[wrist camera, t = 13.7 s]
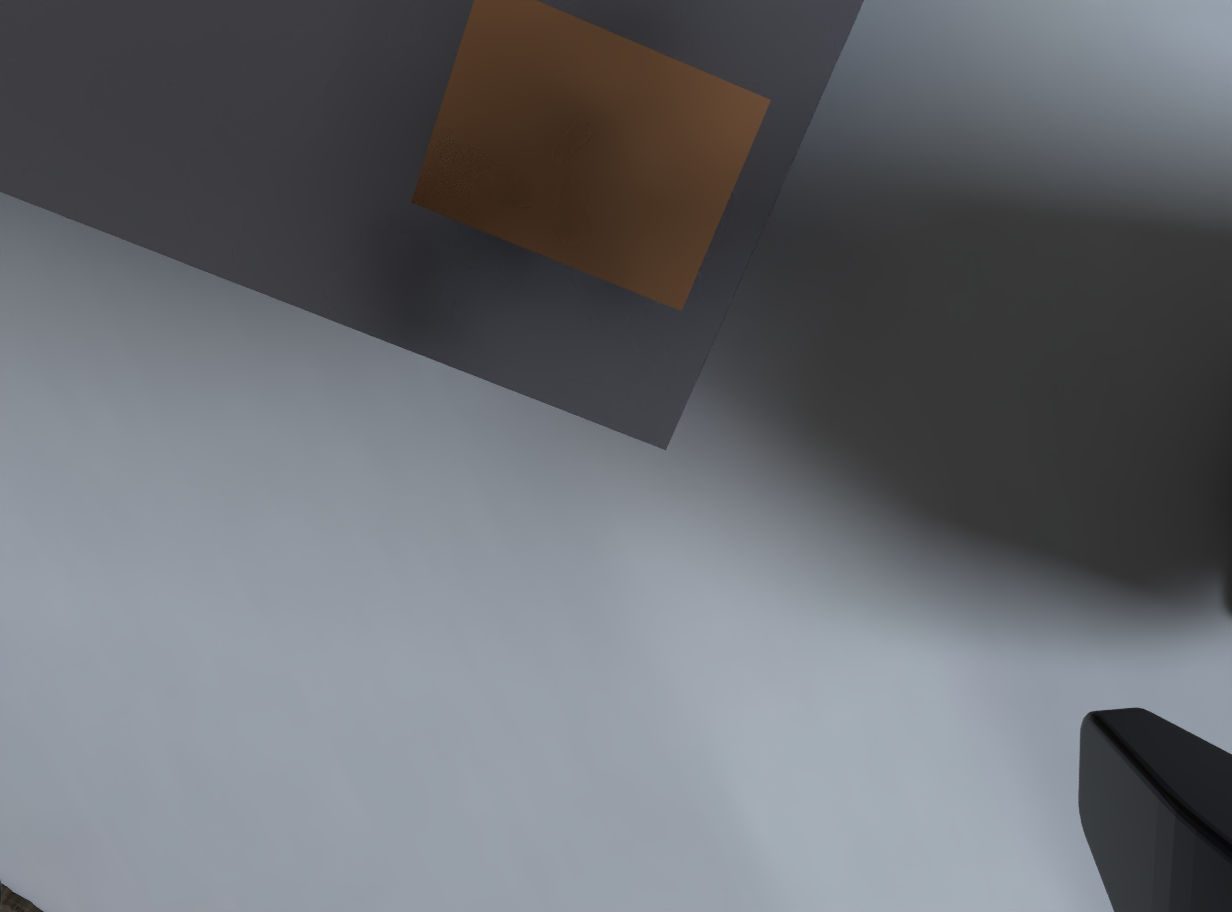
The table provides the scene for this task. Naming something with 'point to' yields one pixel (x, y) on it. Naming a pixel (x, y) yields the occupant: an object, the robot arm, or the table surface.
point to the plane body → (438, 165)
